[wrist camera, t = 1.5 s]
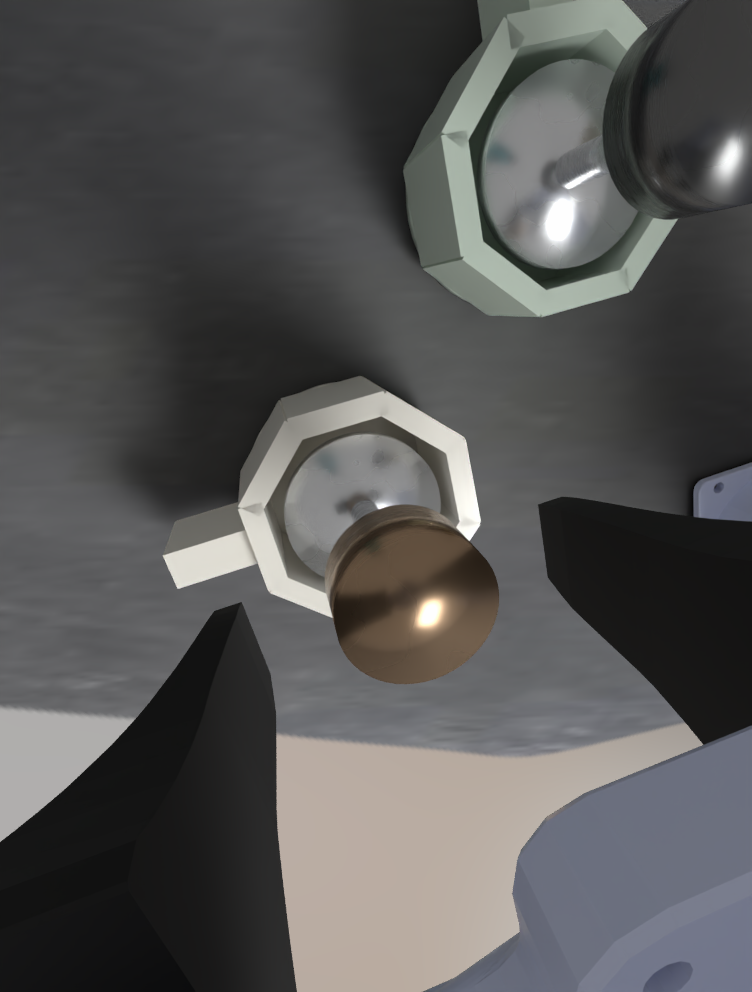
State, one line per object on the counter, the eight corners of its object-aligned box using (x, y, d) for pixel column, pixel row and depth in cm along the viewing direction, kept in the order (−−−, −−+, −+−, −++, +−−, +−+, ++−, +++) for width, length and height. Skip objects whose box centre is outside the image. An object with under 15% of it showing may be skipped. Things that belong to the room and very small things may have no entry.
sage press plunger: (632, 52, 14) (899, -130, 8) (640, 247, 16) (864, 212, 10) (462, 89, 14) (621, -77, 8) (491, 288, 16) (637, 275, 10)
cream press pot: (413, 358, 19) (453, 370, 16) (448, 529, 22) (490, 576, 18) (146, 434, 18) (117, 467, 14) (218, 604, 21) (211, 672, 17)
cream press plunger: (417, 412, 17) (511, 470, 11) (447, 549, 18) (540, 665, 12) (262, 458, 16) (268, 547, 10) (309, 594, 18) (338, 739, 12)
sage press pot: (607, 281, 20) (691, 274, 16) (429, 330, 19) (474, 336, 15) (584, -52, 16) (687, -162, 12) (363, -8, 16) (400, -113, 12)
